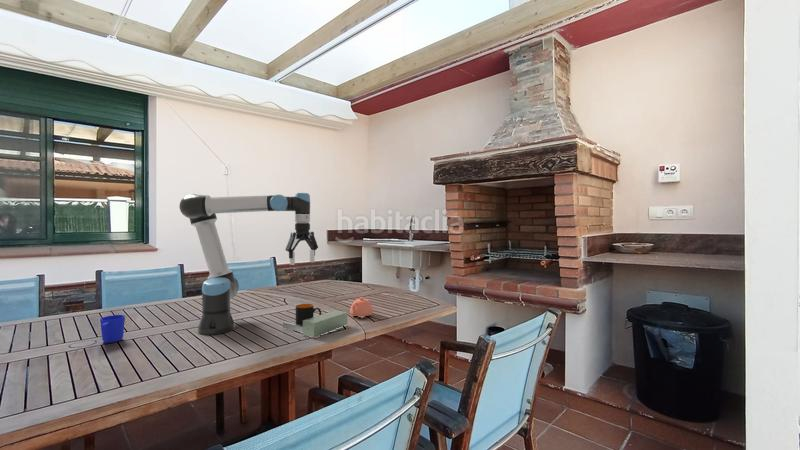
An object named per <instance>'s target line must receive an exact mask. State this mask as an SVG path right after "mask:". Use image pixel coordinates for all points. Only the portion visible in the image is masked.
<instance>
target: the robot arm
mask: <svg viewBox="0 0 800 450" xmlns="http://www.w3.org/2000/svg"><path fill="white" fill-rule="evenodd" d="M179 211H180V213H181V214H182V215H183V216H184V217H186V218H188V219H189V221H190V224H191V226H193V227H195V230H196V234H197V236H198V239H199V242H200V246H201V250H202V252H203V255H204V256H203V257H204V259H205V263H206V266H207V269H208V272H209V275H208V277H207V279H206V280H204V281H203V282H202V287H201V293H202V294H201V298H202V299H201V300H202V301H201V302H202V303H201V308H202V310H201V311H202V312H201V313H202V314H201V317H200V319H199V323H198V326H197V333H198V334H200V335H206V336H207V335H219V334H225V333H229V332H230V331H232V330H234V329H235V321H234V319H233V316H232V313H231V299H233V298H234V297H236V295H237V293H238V291H239V288H240V285H239V281H238V279H237V278H236V277H235V276H234V275H235V274H234V272H233V270H231V269H229V266H228V264H227V260H226V256H225V254H224V249H223V247H222V243H221V240H220V236H219V233H218V229H217V226H216V221H217V220H218V217H217V214H235V213H255V212H257V213H258V212H259V213H260V212H295V213H294V222H295V223H294V226H295V227H294V230H295V232H294V231H293V232H290V236H289V239H288V241H287V244H286V247H285V249H284V250H285V251H286V252H288V258H289V265H290V266H295V265H296V264H295V263H296V261H295V259H296V258H295V255H296V253H295V252H296V251H295V250H296V247H298V245H299V243H300V242H301V241H302V242H304V241H305V242H306V244H307V245H308V247H309V248H310V249H309V262H310V263H315V255H316V250H317V249H319V245H318V243H317V240H316V238H315V233H314V231H311V224H310V222H311V196H310V194H309V193H307V192H296V193H295V194H294V196H285V195H283V194H275V195H274V194H273V195H246V196H244V195H240V196H239V195H238V196H214V197H211V196H210V195H207V194H205V195H204V194H195V193H193V194H187V195H185V196H184V197H182V198H181V200H180V201H179Z"/></svg>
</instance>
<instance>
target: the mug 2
mask: <svg viewBox="0 0 800 450" xmlns="http://www.w3.org/2000/svg"><path fill="white" fill-rule="evenodd" d="M316 310H317V311H318V312H319V314H318V316H319V315H322V311H321V309H320V308H319V307H314V304H311V303H301V304H297V305H296V306H295V324H298V325H302V326H303V320H306V319H310V318H313V315H314V313H315V311H316Z"/></svg>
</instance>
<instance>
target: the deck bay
mask: <svg viewBox="0 0 800 450" xmlns="http://www.w3.org/2000/svg"><path fill="white" fill-rule="evenodd" d="M346 324H347V325H348V311H344V310H343V311H342V310H338V309H337V310H332V311H329V312H326V313H323V314H322V313H321V315H319V314H318V315H314V314H313V318H310V319H306V320H303V326H302V325H298V324H296V323H293V322H290V321H289V322H288V321H283V322H282V329H283V328H286V329H290V330H295V331H299V332H303V334H302V336H303V335H307V336H311V337H316V336H319V335H321V334H324V333H326V332H329V331H331V330H334V329H336V328H339V327H341V326H344V325H346ZM286 329H285V330H286ZM290 330H289V331H290Z"/></svg>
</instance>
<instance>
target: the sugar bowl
mask: <svg viewBox="0 0 800 450" xmlns="http://www.w3.org/2000/svg"><path fill="white" fill-rule="evenodd" d="M349 313H350V315H351V316H352V315H353V316H368V315H371V316H372V314H373V313H374V309H373V305H372V303H371V302H370V301H369V299H366V298H365V297H363V296H360V297H359V298H356V299H355V300H354V301H353V302H352V304H351V307H350V308H349ZM353 316H352V317H353Z"/></svg>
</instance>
